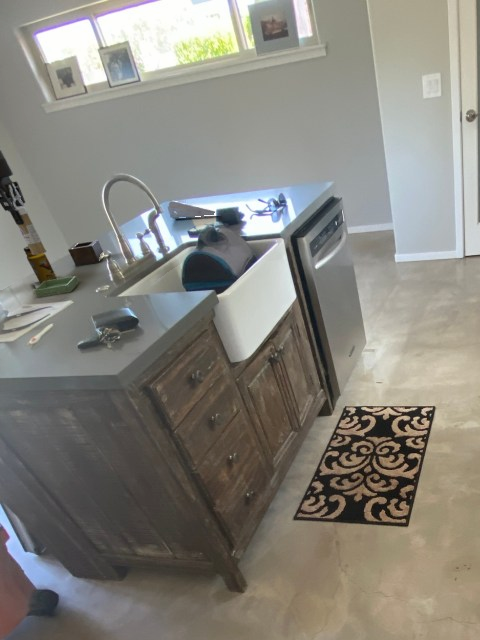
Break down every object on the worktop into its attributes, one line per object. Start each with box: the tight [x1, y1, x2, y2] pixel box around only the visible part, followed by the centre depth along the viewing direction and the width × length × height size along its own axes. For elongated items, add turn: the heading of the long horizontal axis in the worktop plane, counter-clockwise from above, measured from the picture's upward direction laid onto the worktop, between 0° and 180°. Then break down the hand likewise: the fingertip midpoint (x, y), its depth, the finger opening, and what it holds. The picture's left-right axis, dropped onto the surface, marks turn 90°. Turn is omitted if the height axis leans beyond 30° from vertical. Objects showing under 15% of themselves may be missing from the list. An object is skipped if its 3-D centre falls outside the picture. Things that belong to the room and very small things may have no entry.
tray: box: [33, 275, 80, 298], centre depth 178 cm, size 11×10×2 cm
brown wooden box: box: [67, 239, 104, 267], centre depth 202 cm, size 9×9×6 cm
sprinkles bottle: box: [17, 205, 47, 255], centre depth 166 cm, size 5×5×13 cm
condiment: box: [23, 245, 59, 289], centre depth 183 cm, size 7×8×12 cm
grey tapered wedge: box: [167, 199, 216, 220], centre depth 242 cm, size 8×9×26 cm
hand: (23, 222), depth 165 cm, fingers closed on sprinkles bottle, 4 cm apart
